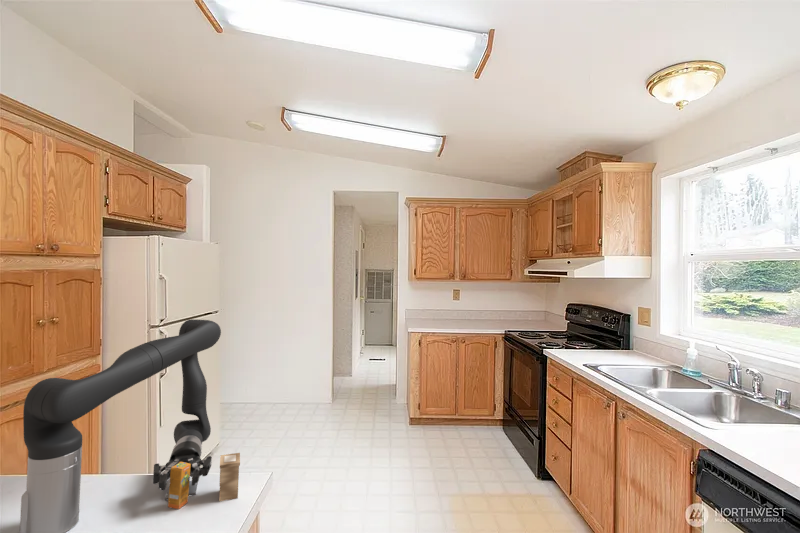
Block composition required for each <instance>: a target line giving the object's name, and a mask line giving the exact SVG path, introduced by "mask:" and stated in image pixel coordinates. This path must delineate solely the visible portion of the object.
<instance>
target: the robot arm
mask: <svg viewBox="0 0 800 533" xmlns="http://www.w3.org/2000/svg"><path fill="white" fill-rule="evenodd" d="M221 329H222V328H221V326H220V325H219V324H218V323H217V322H215V321H213V320H210V319H187V320H185V321H184V322H183V323H182V324H181V326H180V327H179V330H178V335H174V336H168V337H163V338H157V339H153V340H149V341H148V342H144V343H142V344H139V345H137V346H135V347H133V348H130V349H128V350H126V351H125V352H122V354H120V355H119V356H118V357H117V358H116V359H115V361H113V363H112V364H111V365H110V366H109V367H107V368H106V369H104V370H102V371H100V372H97V373H95V374H92V375H90V376H87V377H84V378H81V379H69V378H60V377H50V378H46V379H41V380H40V381H39V382H37V383H36V384H35V385H33V386H32V388H30V389H29V391H28V393H27V395H26V397H25V399H24V403H23V415H22V417H23V418H22V419H23V425H22V426H23V441H24V445H25V446H26V449H27V472H26V488H25V489H26V490H25V491H24V492H23V494H21V499H20V502H21V503H20V520H19V521H20V523H19V533H66V532H67V531H70V530H71V529H72V528H74V527H75V526H76V525H77V524H78V522H79V520H80V519H79V518H80V503H81V502H80V500H81V499H80V498H81V482H82V481H81V480H82V460H83V459H82V457H83V434H82V432H81V431H80V430H79V429H78V428H76V426H75V425H74V423H73V422H74V421H76V420H78V419H80V418H82V417H83V416H85V415H87V414H88V413H90V412H91V411H93V410H94V409H96V408H98V407H99V406H101V405H102V404H104V403H105V402H106V401H108V400H110V399H111V398H113V397H115V396H116V395H118V394H120V393H122V392H124V391H127V389H130V388H132V387H133V386H135V385H137V384H139V383H141V382H144V381H145V380H147V379H149V378H152V376H155V375H156V374H158V373H160V372H162V371H164V370H165V369H167V368H169V367H171V366H173V365H175V364H177V363H178V362H180V363H181V370H182V396H181V398H182V399H181V412H182V413H183V414H185V415H190V416H191V415H192V416H195V417H197V418H198V419H190V420H183V421H182V420H181V421H180V422H178V423H177V424H176V425H175V427H174V428H173V429H174V431H173V440H174V442H175V445H174V446H173V449H172V452H171V454H170V456H169V459H168V462H166V463H165V464H164V465H163V464H162V465H161V464H160V463H154V464H153V473H152V474H153V476H152V483H153V485H156V484H158V489H160V491H165V490H166V488H167V487H166V486H167V484H168V483H167V482H168V481H169V482H170V474H171V467H173V466H175V465H176V464H178V463H179V462H186V463H190V464H191V467H190V478H191V481H192V485H195V483H197V482H198V483H199V481H200V480H199V479H200V477H201V476H202V477H207V476H208V474H209V472H210V469H211V467H212V459H213V458H212V456H207V457H206V458H204V459H202V458H201V456H202V450H203V446H202V445H203V442H206V441H207V440H208V439H209V437H210V435H211V429H212V428H211V424H210V421H209V416H208V411H207V396H208V395H207V394H208V385H207V379H206V378H205V375H204V373H203V370H202V368H201V365H200V362H199V357H198V353H200V352H203V351H205V350H208V349H210V348H212V347H214V346H215V345H216V344H217V342H218V341H219V339H220V337H221V334H222V330H221ZM200 466H202V467H200Z"/></svg>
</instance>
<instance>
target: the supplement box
mask: <svg viewBox="0 0 800 533" xmlns="http://www.w3.org/2000/svg"><path fill="white" fill-rule="evenodd" d="M190 467H191V464H190V463H186V462H179V463H178V464H176V465H175V466H173V467H171V474H170V480H169V484H170V487H169V486H168V487H169V500H167V502H168V504H167V507H168V508H170V509H175V510H180V509H182V507H183V506H185V505H186V504H187V503H189V501H188V500H189V496H188V492H189V481H191V480H190V479H191V476H190Z"/></svg>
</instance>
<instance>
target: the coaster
mask: <svg viewBox="0 0 800 533" xmlns="http://www.w3.org/2000/svg"><path fill="white" fill-rule="evenodd" d="M198 485H199V481H198V482H197V483H195V485H192V480H189V492H188V497H190V496H189V495H192V496H196V495H197V489H198ZM169 487H170V483H169V484H168V487H167V490H166V494H165V498H164V500H165V501H168V500H169Z"/></svg>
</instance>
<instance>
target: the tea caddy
mask: <svg viewBox="0 0 800 533" xmlns="http://www.w3.org/2000/svg"><path fill="white" fill-rule="evenodd" d="M219 457H220V459H219V469H220V470H219V496H218V497H219V498H218V499H219V500H218V502H224V501H229V500H235V499H238V498H239V478H240V476H239V474H240V466H241V453H240V452H235V453H228V454H222V455H220V456H219Z"/></svg>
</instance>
